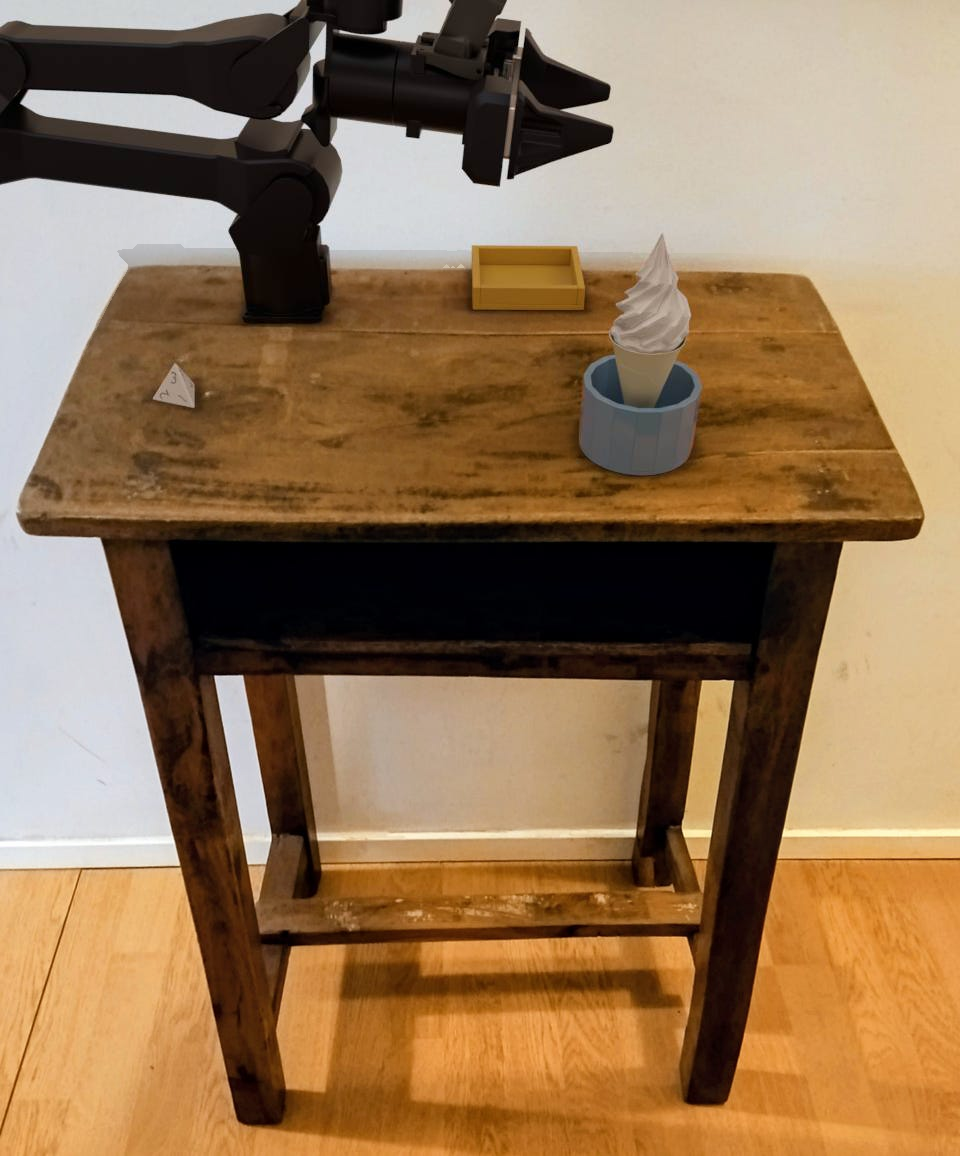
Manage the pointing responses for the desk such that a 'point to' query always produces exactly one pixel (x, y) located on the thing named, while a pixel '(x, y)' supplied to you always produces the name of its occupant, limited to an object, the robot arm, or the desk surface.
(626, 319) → the ice cream cone
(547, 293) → the tray
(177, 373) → the tetrahedral die
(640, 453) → the cup
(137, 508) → the desk surface
